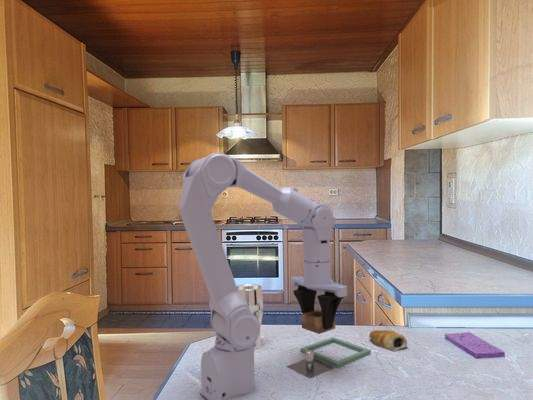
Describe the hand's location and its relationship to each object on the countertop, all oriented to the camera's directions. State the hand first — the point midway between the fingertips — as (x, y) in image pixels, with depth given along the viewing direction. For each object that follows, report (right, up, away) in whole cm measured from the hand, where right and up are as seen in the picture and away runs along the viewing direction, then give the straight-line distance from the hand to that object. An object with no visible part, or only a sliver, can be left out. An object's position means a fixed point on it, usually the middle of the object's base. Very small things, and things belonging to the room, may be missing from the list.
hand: (318, 324), depth 77 cm
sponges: (+38, -9, +9) cm, 41 cm away
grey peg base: (-2, -9, -3) cm, 10 cm away
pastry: (+19, -9, +12) cm, 24 cm away
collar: (0, -1, 0) cm, 1 cm away
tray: (+4, -9, +5) cm, 11 cm away
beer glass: (-15, -10, +11) cm, 21 cm away
